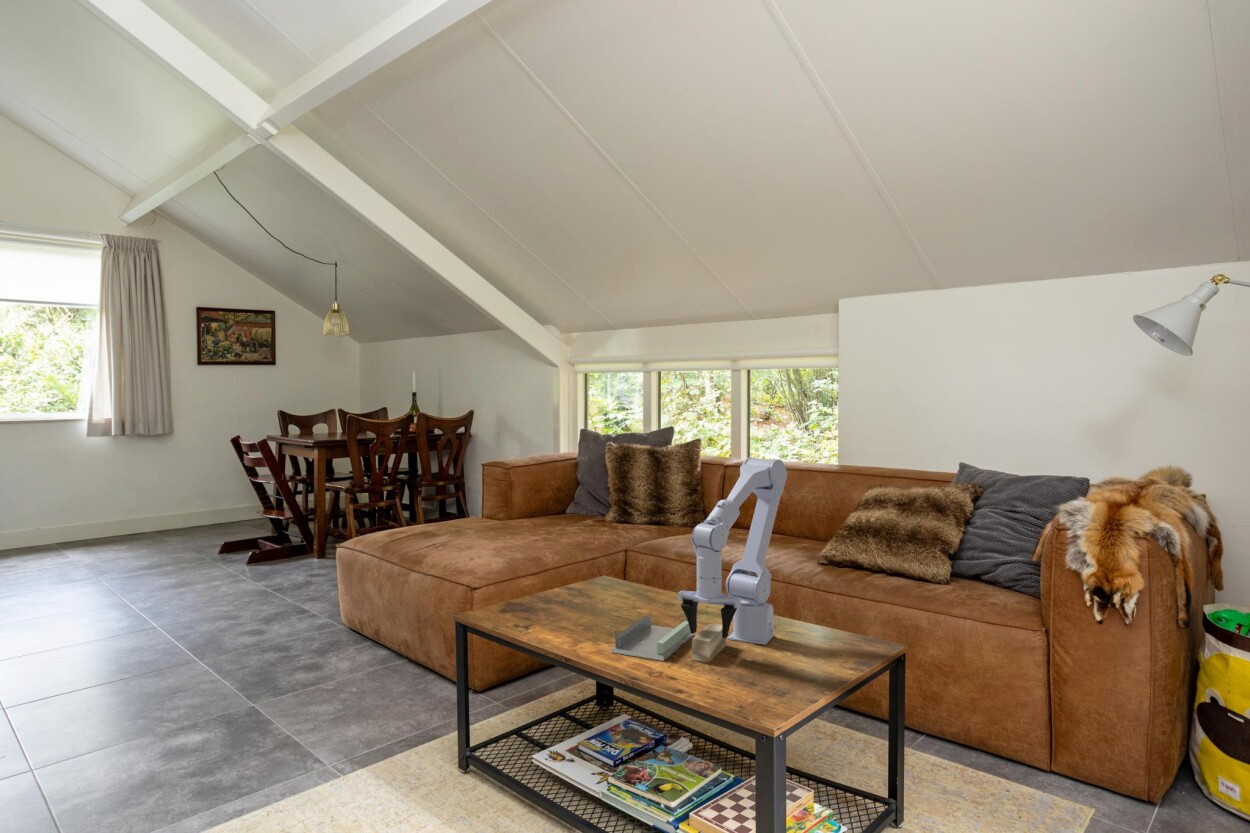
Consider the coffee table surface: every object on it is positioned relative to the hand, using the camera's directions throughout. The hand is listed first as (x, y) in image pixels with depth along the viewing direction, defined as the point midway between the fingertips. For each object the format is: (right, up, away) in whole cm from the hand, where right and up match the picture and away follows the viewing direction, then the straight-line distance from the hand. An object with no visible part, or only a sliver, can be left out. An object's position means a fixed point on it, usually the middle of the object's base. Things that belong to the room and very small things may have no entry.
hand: (709, 634), depth 172 cm
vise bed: (-13, -4, +6) cm, 15 cm away
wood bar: (0, -4, 0) cm, 4 cm away
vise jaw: (-8, -3, +4) cm, 9 cm away
